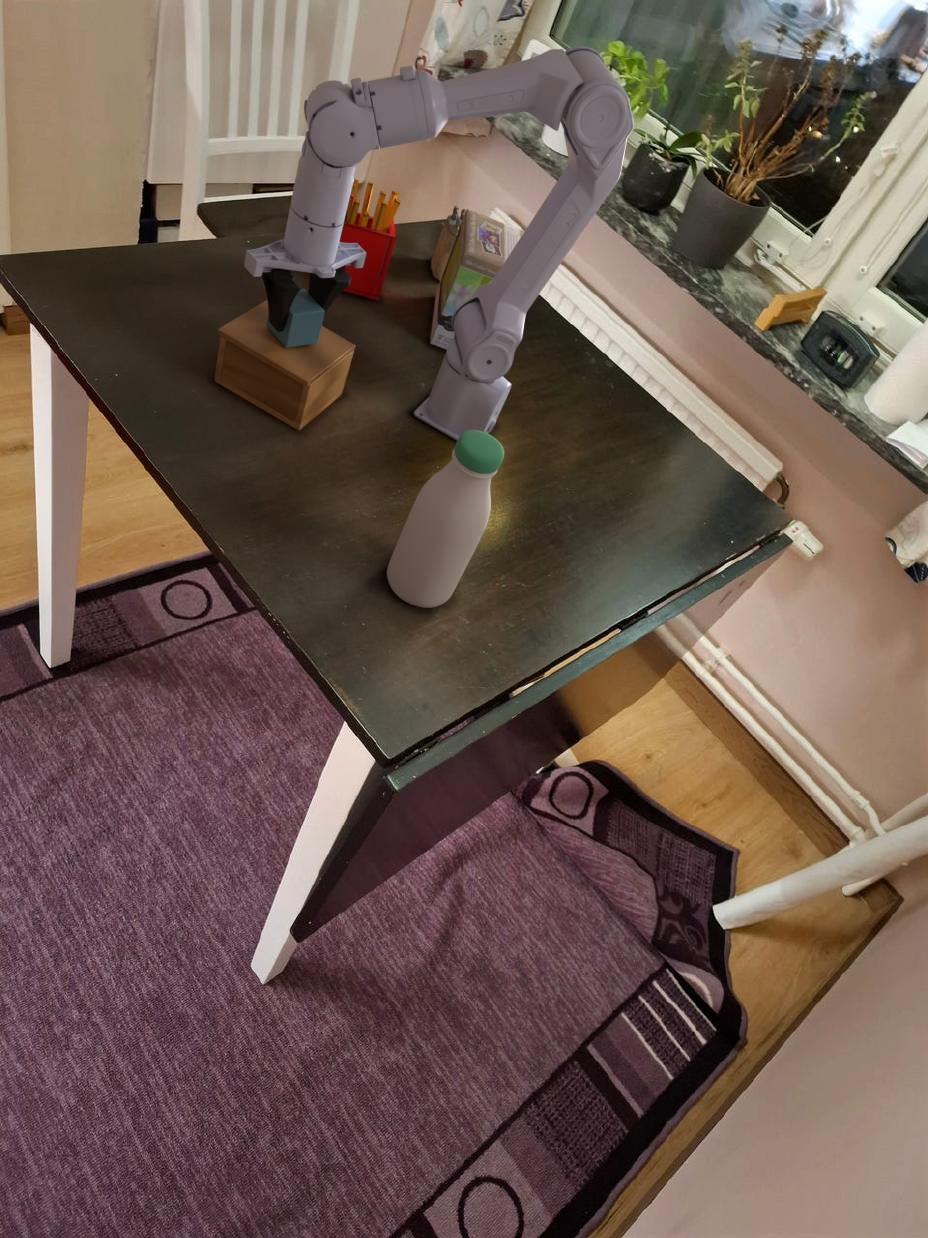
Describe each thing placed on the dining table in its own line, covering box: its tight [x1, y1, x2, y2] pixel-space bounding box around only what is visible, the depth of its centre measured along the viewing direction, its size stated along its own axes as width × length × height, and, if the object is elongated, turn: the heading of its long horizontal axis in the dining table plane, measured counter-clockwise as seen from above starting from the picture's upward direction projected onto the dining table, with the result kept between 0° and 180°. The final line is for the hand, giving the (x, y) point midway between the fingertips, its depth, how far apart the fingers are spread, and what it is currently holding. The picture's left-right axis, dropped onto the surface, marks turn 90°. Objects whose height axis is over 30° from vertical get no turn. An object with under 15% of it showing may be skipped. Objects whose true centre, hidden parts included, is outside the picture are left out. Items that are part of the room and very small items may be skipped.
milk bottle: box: [386, 430, 505, 609], centre depth 83 cm, size 8×8×20 cm
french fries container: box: [339, 178, 401, 301], centre depth 119 cm, size 7×9×14 cm
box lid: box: [216, 299, 356, 387], centre depth 98 cm, size 11×12×1 cm
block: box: [266, 288, 325, 348], centre depth 96 cm, size 4×4×4 cm
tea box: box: [430, 208, 525, 351], centre depth 122 cm, size 15×10×15 cm
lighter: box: [430, 205, 467, 282], centre depth 133 cm, size 7×4×10 cm, turn 8°
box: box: [214, 336, 355, 431], centre depth 101 cm, size 11×12×7 cm
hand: (293, 323), depth 97 cm, fingers closed on block, 4 cm apart
